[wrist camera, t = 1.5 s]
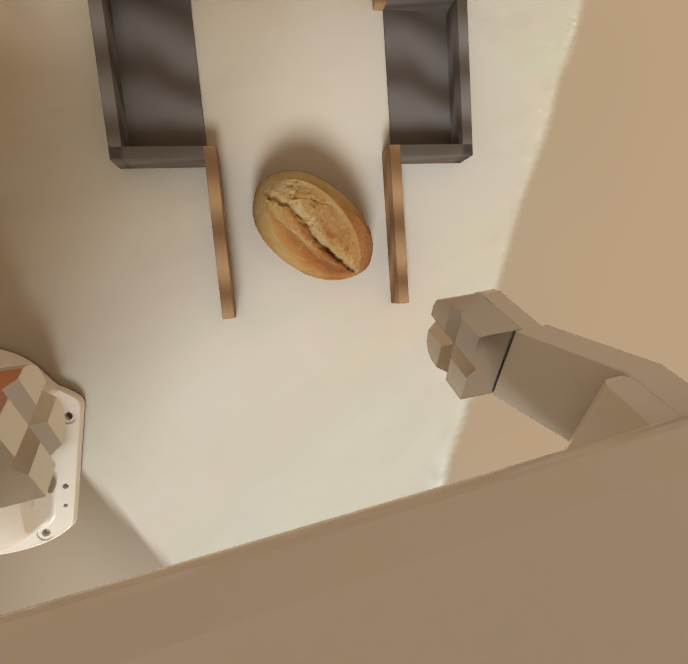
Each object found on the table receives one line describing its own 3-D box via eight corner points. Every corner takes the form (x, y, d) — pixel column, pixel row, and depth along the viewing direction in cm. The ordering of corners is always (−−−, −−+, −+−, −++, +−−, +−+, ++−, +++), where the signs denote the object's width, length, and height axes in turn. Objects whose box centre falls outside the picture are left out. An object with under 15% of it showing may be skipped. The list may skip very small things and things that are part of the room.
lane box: (465, 296, 51) (486, 296, 46) (142, 324, 44) (126, 328, 39) (449, -102, 46) (471, -149, 41) (77, -147, 39) (50, -211, 34)
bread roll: (339, 302, 48) (354, 304, 40) (232, 229, 45) (226, 216, 37) (381, 237, 48) (404, 226, 41) (279, 160, 45) (282, 133, 37)
